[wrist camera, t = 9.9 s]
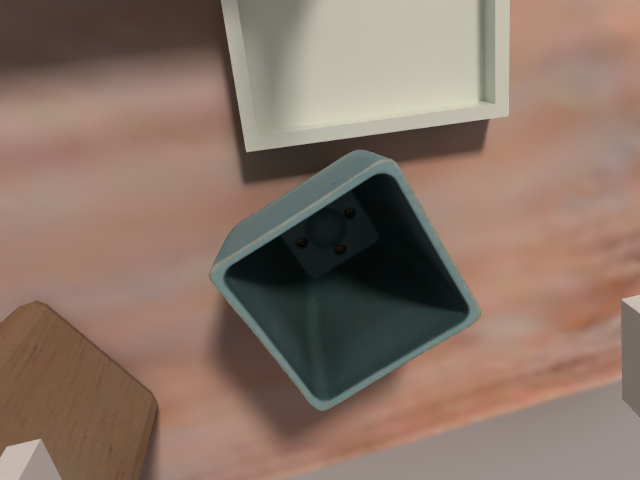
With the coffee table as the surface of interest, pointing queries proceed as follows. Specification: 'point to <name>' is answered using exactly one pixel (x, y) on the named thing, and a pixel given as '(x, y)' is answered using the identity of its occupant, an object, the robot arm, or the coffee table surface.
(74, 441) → the wooden block
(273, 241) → the flower pot
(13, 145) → the coffee table surface
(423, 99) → the tray
